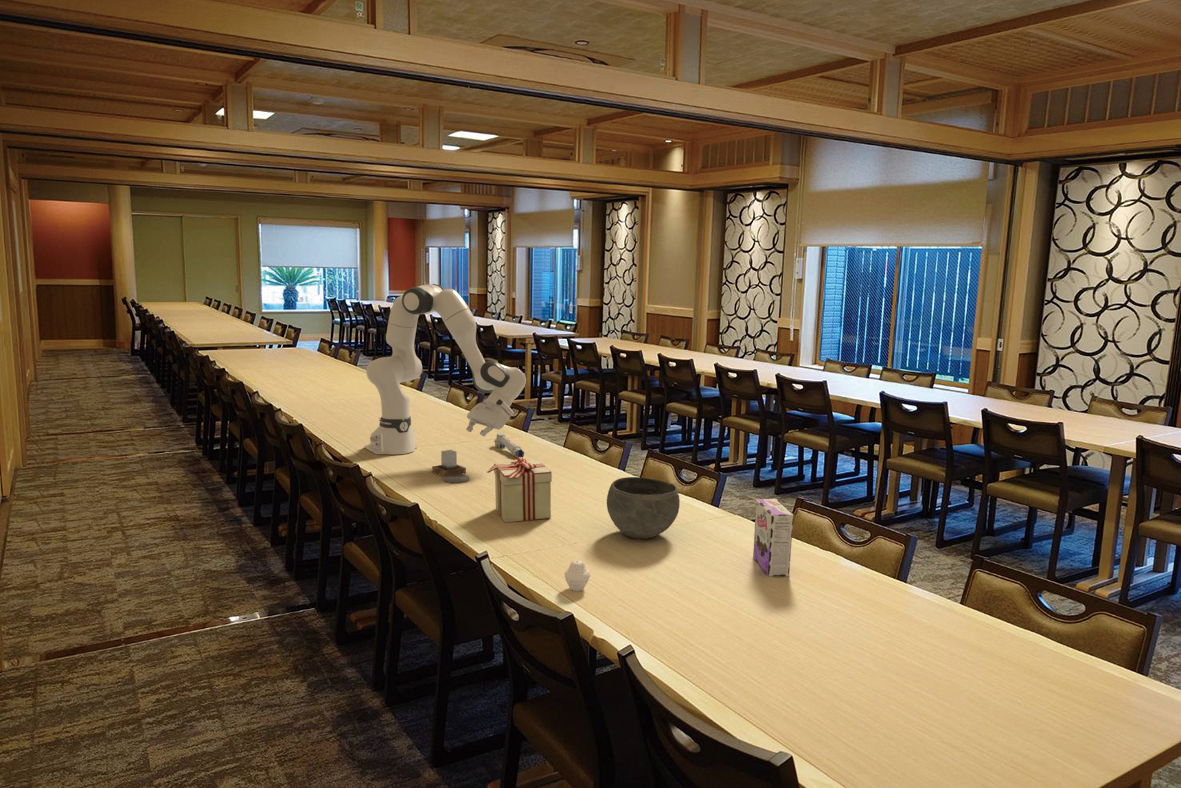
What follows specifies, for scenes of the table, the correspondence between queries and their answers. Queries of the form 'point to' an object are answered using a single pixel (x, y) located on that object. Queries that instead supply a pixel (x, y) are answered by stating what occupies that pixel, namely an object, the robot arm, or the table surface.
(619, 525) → the bowl
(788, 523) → the candy box
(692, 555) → the table surface
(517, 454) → the grey flashlight
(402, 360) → the robot arm
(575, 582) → the beige stone rounded piece
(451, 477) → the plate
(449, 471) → the socket
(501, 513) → the gift box
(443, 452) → the steel block
